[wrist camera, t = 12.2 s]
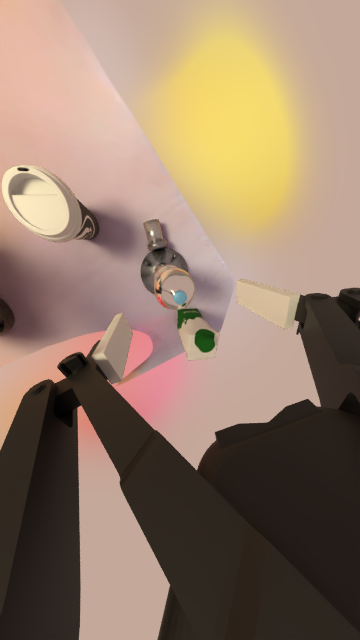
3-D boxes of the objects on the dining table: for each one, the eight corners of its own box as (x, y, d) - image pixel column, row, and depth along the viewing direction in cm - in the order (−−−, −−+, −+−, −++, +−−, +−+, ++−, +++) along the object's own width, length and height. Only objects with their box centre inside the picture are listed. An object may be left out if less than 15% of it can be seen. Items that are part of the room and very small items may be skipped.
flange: (149, 300, 44) (149, 306, 39) (125, 229, 35) (120, 226, 30) (190, 289, 45) (194, 293, 40) (176, 217, 36) (180, 211, 31)
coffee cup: (107, 210, 32) (76, 179, 19) (103, 251, 36) (74, 250, 23) (60, 190, 30) (-15, 138, 16) (60, 237, 33) (0, 227, 20)
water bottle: (160, 257, 38) (171, 260, 16) (180, 270, 40) (214, 288, 18) (149, 278, 40) (145, 308, 18) (169, 289, 42) (187, 327, 20)
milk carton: (199, 306, 48) (226, 335, 31) (197, 327, 52) (220, 365, 34) (175, 306, 47) (189, 338, 29) (174, 329, 51) (187, 369, 33)
